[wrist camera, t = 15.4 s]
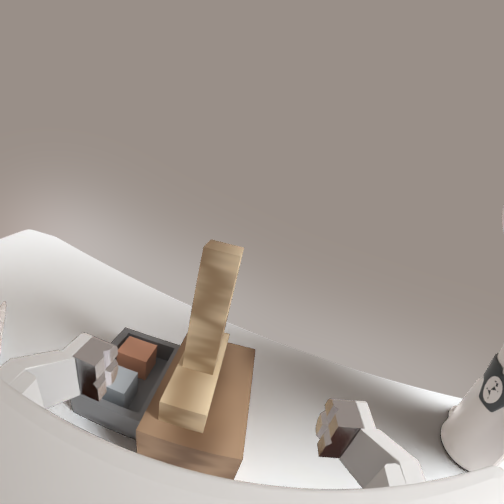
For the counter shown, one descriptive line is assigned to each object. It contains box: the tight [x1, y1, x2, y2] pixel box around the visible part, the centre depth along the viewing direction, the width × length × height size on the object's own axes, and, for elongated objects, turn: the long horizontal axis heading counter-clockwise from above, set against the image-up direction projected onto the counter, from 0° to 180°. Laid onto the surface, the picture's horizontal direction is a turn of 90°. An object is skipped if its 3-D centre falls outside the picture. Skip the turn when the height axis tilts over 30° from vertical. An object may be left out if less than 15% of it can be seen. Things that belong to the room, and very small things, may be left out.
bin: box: [70, 327, 181, 439], centre depth 31 cm, size 9×15×4 cm, turn 176°
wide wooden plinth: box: [136, 333, 255, 480], centre depth 29 cm, size 9×18×6 cm, turn 176°
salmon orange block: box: [117, 336, 157, 380], centre depth 34 cm, size 4×4×3 cm
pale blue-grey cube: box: [102, 365, 138, 409], centre depth 28 cm, size 4×4×3 cm
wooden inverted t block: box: [158, 240, 244, 433], centre depth 26 cm, size 4×14×14 cm, turn 176°
